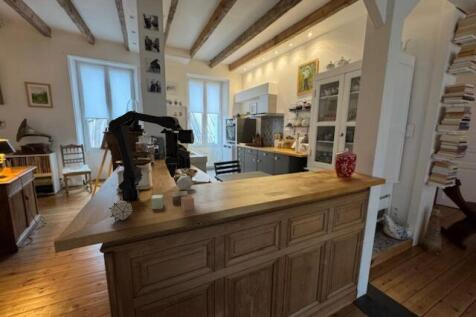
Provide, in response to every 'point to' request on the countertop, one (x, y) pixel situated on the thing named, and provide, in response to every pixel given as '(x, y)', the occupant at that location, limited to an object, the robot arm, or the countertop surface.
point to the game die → (121, 210)
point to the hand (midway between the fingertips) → (172, 175)
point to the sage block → (157, 201)
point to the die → (184, 183)
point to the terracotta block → (187, 202)
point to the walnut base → (178, 196)
